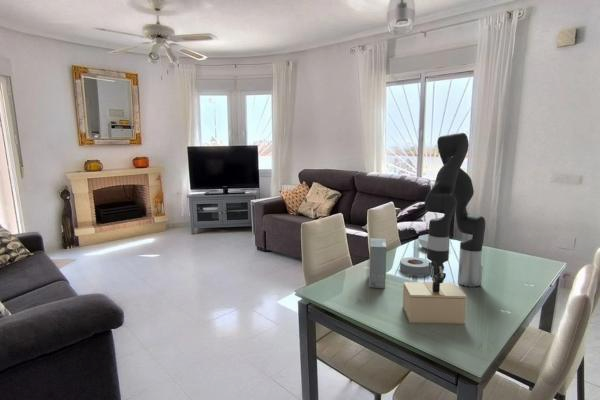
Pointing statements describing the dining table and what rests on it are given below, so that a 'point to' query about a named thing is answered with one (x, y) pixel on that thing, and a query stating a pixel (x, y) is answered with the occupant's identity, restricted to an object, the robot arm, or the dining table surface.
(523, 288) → the dining table surface
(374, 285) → the hard drive box
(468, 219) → the robot arm
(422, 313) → the carton
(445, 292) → the lid
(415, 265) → the tape roll
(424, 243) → the cereal bowl
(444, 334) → the dining table surface
